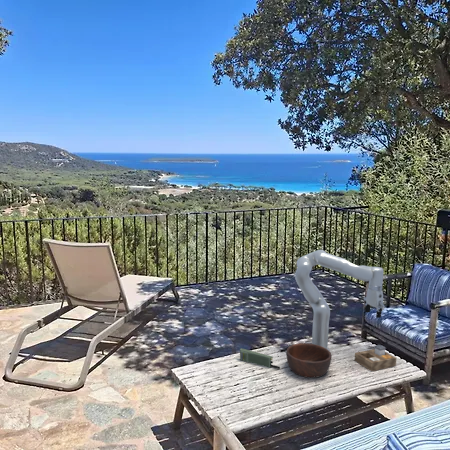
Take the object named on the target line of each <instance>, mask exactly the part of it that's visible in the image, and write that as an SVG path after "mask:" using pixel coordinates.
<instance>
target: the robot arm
mask: <svg viewBox="0 0 450 450" xmlns="http://www.w3.org/2000/svg"><path fill="white" fill-rule="evenodd" d="M317 265H319V266H321V267H323V268H325V269H330V270H332V271H336V272H339V273H341V274H343V275H345V276H346V275H347V276H348V277H351V278H354V279H356V280H358V281H359V280H360V281H363V282H368V288H367V292H366V296H363V301H364V305H365V308H364V312H365V313H370V312H371V307H374V308H376V312H375V313H376V314H375V318H376V319H380V318H382V312H383V311H384V310H385V305H384V292H383V280H384V268H383V267H380V266H368V265H365V264H364V265H363V264H362V265H357V264H354V263H352V262H351V261H349V260H347V259H345V258H344V257H340V256H337V255H334V254H331V253H328V252H326V251H325V250H324V249H317V250H315V251H312V252H310V253H307V254H305V255H303V256H300V257H299V258H297V261H296V271H295V273H294V278H295V282H296V284H297V286H298V288H299V289H300V290H301V292H302V294H303V296H304V298H305V300H306V301H307V302H308V303H309V305H310V306H311V308H312V312H313V320H312V331H311V332H312V334H311V344H315V345H319V346H322V347H324V348H326V349H327V350H329V351H330V352H331V350H330V349H329V348H328V346H329V331H330V329H329V326H330V325H329V324H330V318H331V317H330V316H331V309H330V306H329V304H328V302H327V301H326V299H325V298H324V296H323V294H322V293H321V291H320V290H319V288H318V287H317V285H315V284H314V282H313V280H312V279H311V277H310V273H311V272H312V270H313V267H314V266H317Z"/></svg>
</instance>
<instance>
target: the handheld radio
mask: <svg viewBox="0 0 450 450" xmlns="http://www.w3.org/2000/svg"><path fill="white" fill-rule="evenodd" d="M239 360H240V361H244V362H247V363H249V364H254V365H258V366H261V367H265V368H268V369H271V368H274V369H278V370H280V369H281V366H279V365H275V364H273V363H274V361H273V355H270V354H265V353H261V352H257V351H253V350H249V349H245V348H240V349H239Z"/></svg>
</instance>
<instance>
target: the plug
mask: <svg viewBox="0 0 450 450" xmlns="http://www.w3.org/2000/svg"><path fill="white" fill-rule="evenodd" d="M374 349H375V354H377V355H379V356H381V355H385V352H386V347H385V346H383V345H381V344H377V345H374Z"/></svg>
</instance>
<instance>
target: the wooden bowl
mask: <svg viewBox="0 0 450 450" xmlns="http://www.w3.org/2000/svg"><path fill="white" fill-rule="evenodd" d="M329 350H330V349H329ZM329 350H327V349H326V348H324V347H322V346H319V345H315V344H312V343H309V342H308V343H307V342H305V343H304V342H301V343H294V344H291V345H289V346H288V347H287V348H286V351H285V352H286V353H285V354H286V355H285V356H286V361H287V362H286V363H287V364H288V367H289V369H290V370H291V371H292V372H293V373H294V374H295V375H297V376H301V377H304V378H312V379H313V378H320V377H322V376H324V375H325V374H327V372H328V371H329V369H330V367H331V363H332V362H331V361H332V357H333V356H332V353H331V350H330V351H329Z"/></svg>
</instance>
